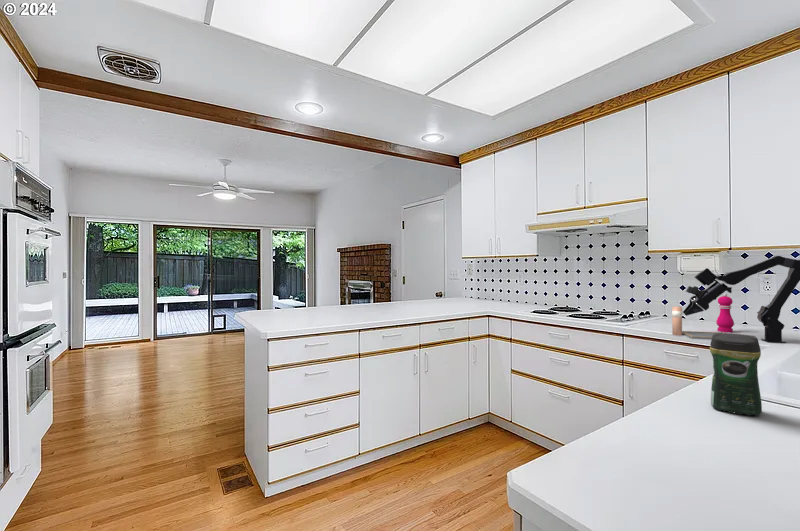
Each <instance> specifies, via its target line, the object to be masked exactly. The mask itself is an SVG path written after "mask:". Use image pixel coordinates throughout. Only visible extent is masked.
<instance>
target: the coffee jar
mask: <svg viewBox="0 0 800 531" xmlns="http://www.w3.org/2000/svg"><path fill="white" fill-rule="evenodd" d="M709 351H710V354H711V356H712V364H713V365H712V379H711V388H710V389H711V390H710V406H712V407H713V408H714V409H716V408H717V409H716V410H718V409H720V410H719V411H721V410H724V411H723V412H725V411H729V412H728V413H730V412H735V413H740V414H739V415H742V414H747V415H746V416H751V415H755V416H758V415H761V414H762V413H763V412H762V411H763V409H762V408H763V407H762V405H763V404H762V396H761V391H760V385H759V384H760V382H759V375H758V373H759V372H758V364H759V363H758V362H759V360H760V358H761V356H762V354H761V353H762V350H761V346H760V342H759V339H758V337H757V336H755V335H749V334H741V333H732V332H731V333H728V332H721V333H715V334H713V335H712V339H710V345H709ZM735 413H734V414H735Z"/></svg>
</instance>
